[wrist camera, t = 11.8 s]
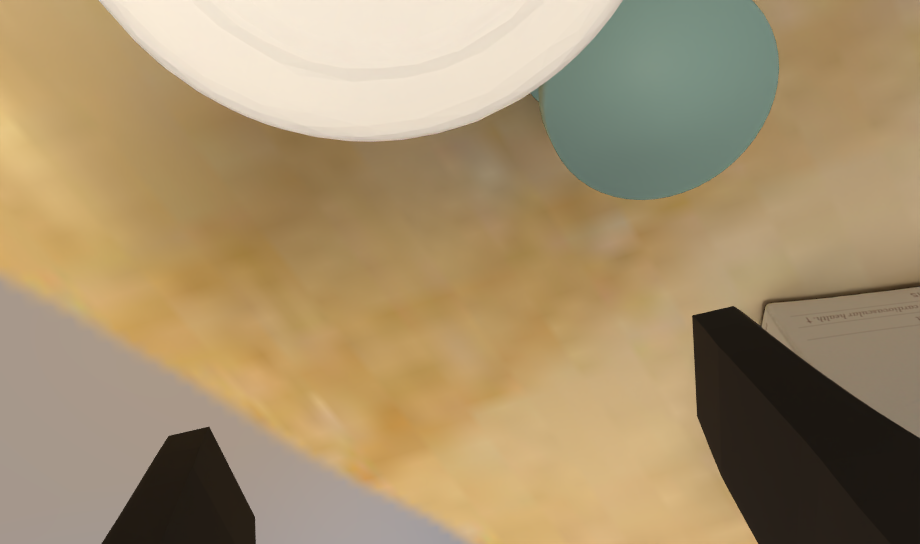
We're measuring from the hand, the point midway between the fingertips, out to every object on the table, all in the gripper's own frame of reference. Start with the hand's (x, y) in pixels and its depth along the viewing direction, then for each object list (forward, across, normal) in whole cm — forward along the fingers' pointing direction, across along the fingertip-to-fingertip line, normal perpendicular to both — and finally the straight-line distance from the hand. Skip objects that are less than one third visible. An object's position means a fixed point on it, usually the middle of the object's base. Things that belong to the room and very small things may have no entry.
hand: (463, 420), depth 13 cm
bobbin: (+10, -5, -2) cm, 12 cm away
